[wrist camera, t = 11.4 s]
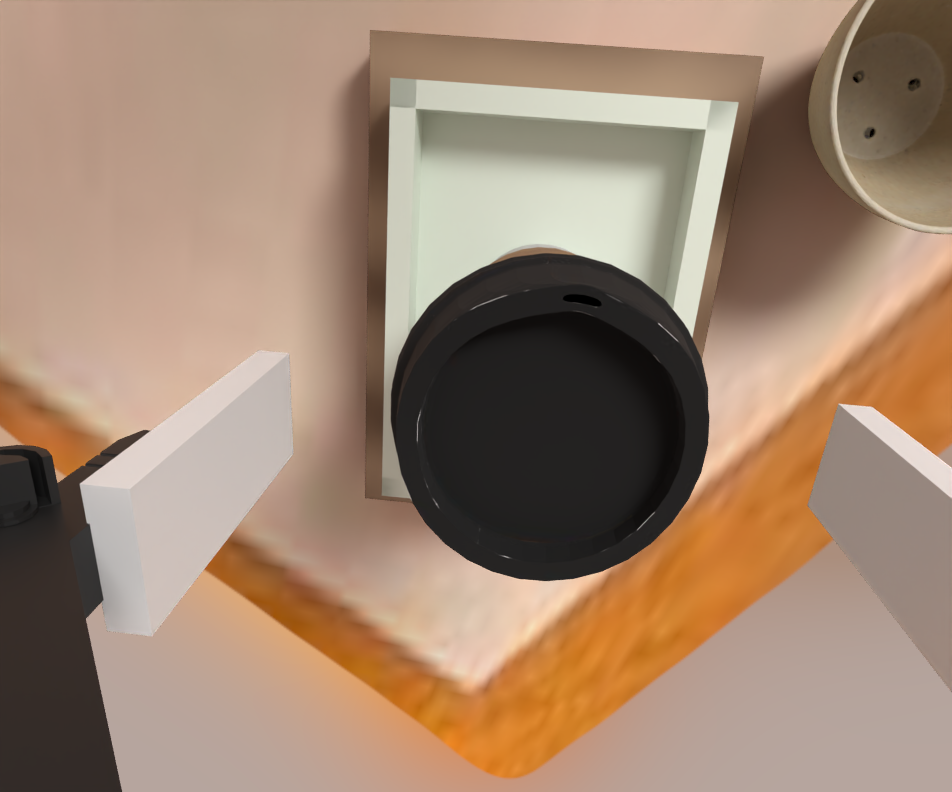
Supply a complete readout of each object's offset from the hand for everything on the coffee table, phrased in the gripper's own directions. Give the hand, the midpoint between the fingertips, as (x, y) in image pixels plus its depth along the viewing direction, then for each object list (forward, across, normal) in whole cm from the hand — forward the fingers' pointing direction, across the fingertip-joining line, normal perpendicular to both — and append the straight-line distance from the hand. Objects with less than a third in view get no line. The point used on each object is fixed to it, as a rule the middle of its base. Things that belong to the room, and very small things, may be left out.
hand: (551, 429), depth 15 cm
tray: (+15, 0, -1) cm, 15 cm away
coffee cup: (+14, 0, 0) cm, 14 cm away
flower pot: (+18, +14, +9) cm, 25 cm away
